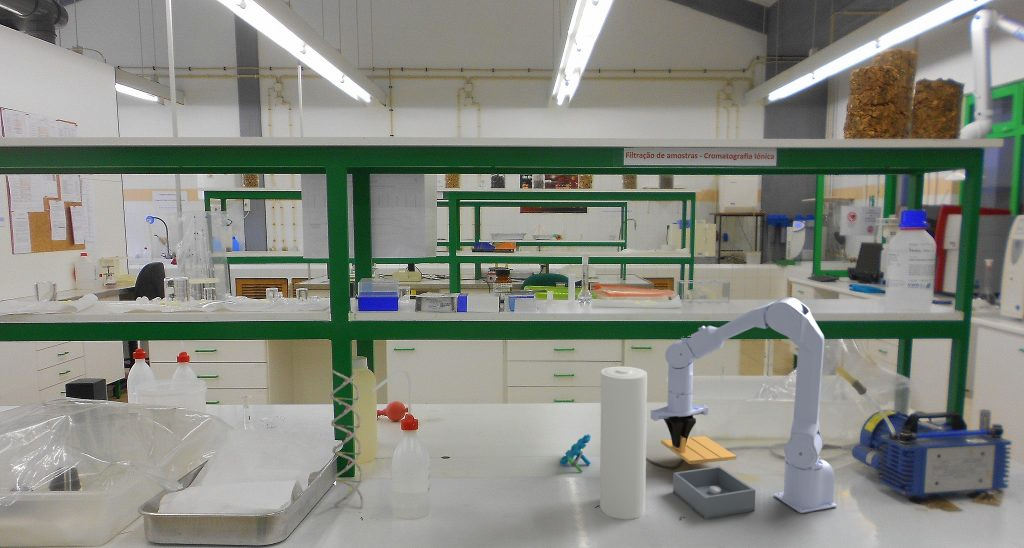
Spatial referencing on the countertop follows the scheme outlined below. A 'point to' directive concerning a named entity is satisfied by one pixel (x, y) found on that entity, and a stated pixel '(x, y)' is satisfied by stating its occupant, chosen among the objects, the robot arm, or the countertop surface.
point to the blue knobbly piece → (576, 453)
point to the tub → (713, 492)
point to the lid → (699, 450)
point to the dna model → (355, 488)
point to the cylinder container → (623, 442)
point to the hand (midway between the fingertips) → (678, 445)
